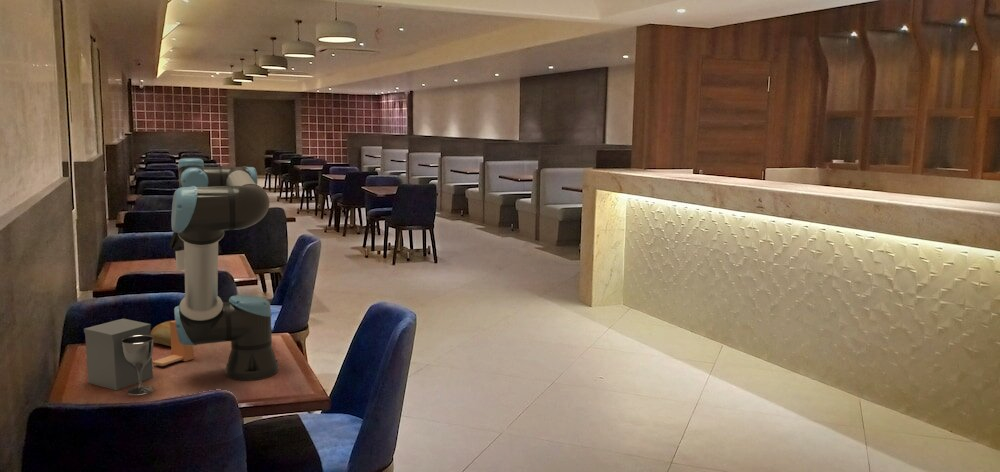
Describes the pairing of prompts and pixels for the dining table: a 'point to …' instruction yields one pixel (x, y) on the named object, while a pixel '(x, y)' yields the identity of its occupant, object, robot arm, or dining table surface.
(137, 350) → the wine glass
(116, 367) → the gray box
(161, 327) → the bread roll
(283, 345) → the dining table surface
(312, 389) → the dining table surface
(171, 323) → the l-shaped block
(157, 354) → the dining table surface
